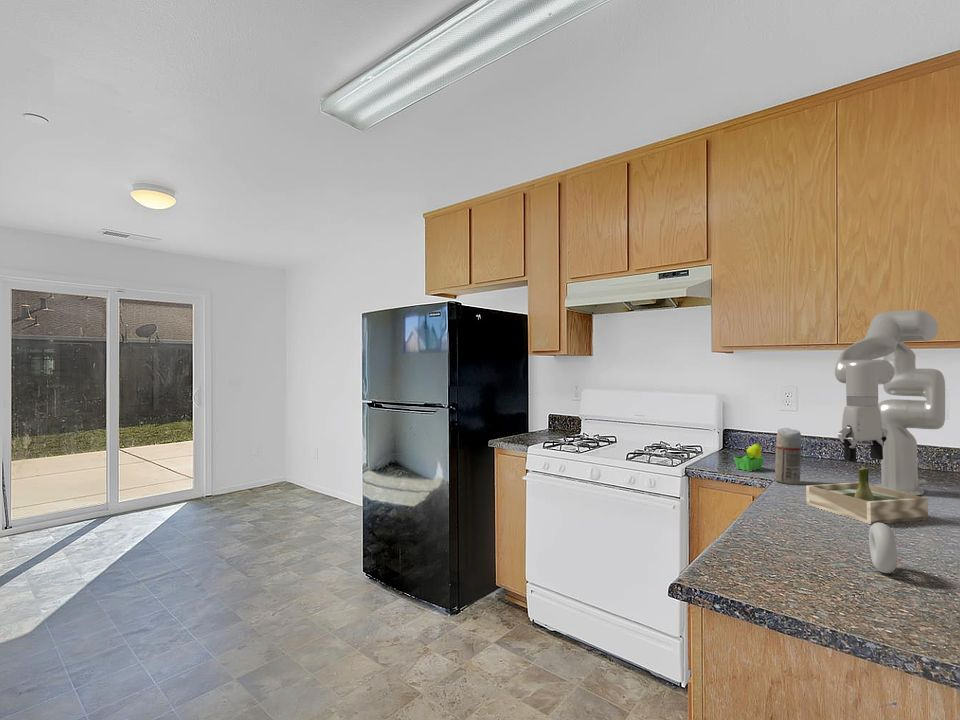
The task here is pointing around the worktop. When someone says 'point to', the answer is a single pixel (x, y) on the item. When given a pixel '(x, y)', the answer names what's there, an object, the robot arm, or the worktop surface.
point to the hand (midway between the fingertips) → (863, 460)
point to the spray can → (788, 456)
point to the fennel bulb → (864, 486)
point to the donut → (882, 548)
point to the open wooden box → (867, 503)
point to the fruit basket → (750, 459)
